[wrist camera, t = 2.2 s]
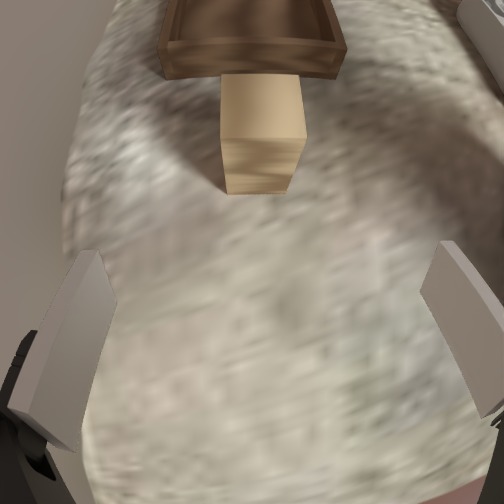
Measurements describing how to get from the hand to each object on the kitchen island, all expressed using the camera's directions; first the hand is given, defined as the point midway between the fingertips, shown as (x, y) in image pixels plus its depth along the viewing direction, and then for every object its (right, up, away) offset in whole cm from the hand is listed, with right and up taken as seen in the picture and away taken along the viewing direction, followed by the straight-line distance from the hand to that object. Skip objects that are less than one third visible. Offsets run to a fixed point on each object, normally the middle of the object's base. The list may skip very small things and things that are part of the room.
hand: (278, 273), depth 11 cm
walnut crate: (-1, +30, +19) cm, 36 cm away
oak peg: (-1, +8, +16) cm, 18 cm away
